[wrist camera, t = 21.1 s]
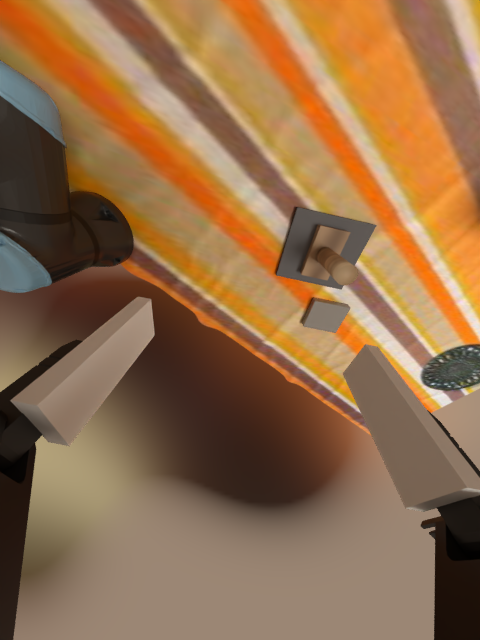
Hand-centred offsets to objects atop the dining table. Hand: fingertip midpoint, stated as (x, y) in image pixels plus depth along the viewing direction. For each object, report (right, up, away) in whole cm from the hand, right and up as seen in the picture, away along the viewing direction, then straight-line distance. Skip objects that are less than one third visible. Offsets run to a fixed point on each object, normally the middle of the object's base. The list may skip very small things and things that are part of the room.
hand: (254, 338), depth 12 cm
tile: (+17, +3, +37) cm, 41 cm away
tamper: (+17, +16, +28) cm, 36 cm away
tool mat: (+17, +16, +29) cm, 37 cm away
